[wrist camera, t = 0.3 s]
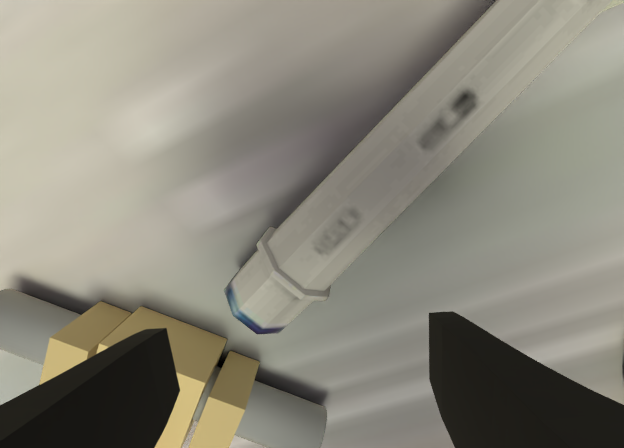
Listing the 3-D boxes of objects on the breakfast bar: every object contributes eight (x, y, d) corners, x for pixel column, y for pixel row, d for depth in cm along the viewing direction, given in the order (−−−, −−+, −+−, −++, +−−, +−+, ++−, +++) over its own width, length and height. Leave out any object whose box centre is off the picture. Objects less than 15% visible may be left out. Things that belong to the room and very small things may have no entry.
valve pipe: (335, 380, 21) (336, 432, 17) (301, 445, 22) (296, 505, 19) (25, 262, 20) (-44, 290, 16) (11, 337, 21) (-56, 379, 17)
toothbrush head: (199, 295, 16) (827, -422, 7) (245, 240, 22) (608, -177, 13) (284, 361, 16) (953, -217, 8) (305, 289, 23) (687, -75, 14)
